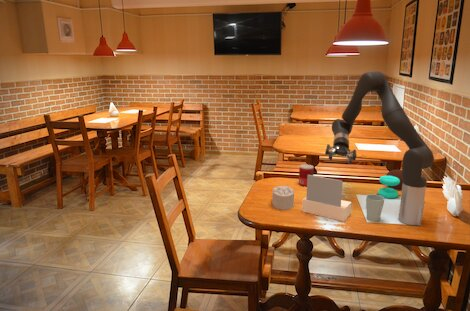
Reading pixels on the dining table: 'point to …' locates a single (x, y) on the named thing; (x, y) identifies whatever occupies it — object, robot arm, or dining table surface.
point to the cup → (374, 207)
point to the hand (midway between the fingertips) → (340, 160)
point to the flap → (324, 190)
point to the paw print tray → (283, 197)
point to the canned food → (305, 174)
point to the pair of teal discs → (389, 182)
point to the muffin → (399, 175)
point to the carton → (327, 209)
